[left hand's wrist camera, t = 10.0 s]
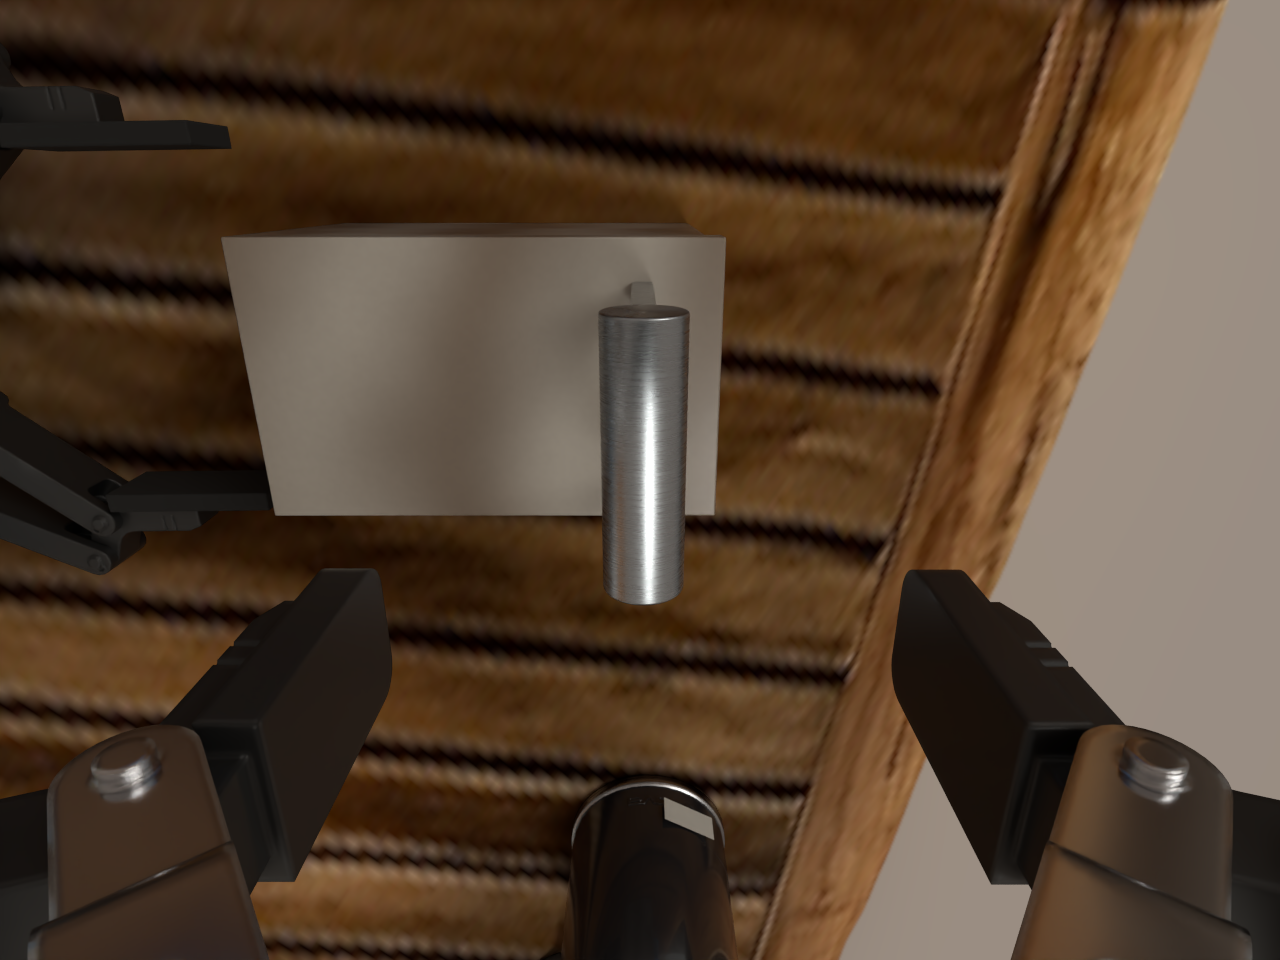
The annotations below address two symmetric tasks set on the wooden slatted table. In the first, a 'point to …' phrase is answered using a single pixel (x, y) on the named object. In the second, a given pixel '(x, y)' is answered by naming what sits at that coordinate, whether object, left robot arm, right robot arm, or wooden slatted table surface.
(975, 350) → the wooden slatted table surface
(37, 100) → the right robot arm
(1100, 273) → the wooden slatted table surface
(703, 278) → the grey piece
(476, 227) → the chest
